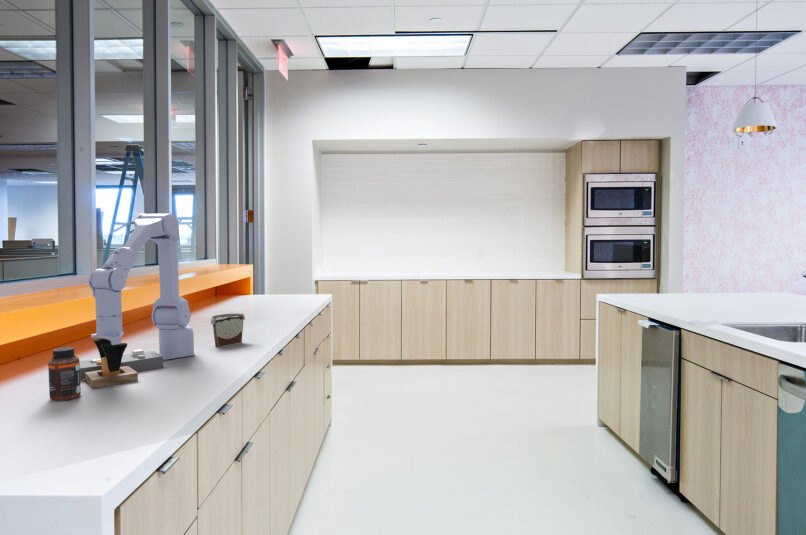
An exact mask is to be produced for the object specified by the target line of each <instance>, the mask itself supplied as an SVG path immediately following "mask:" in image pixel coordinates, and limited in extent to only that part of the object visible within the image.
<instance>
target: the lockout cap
mask: <svg viewBox="0 0 806 535" xmlns="http://www.w3.org/2000/svg"><path fill="white" fill-rule="evenodd" d="M101 360H102V377H103V376H109V375H115V374H120V370H119V371H115V372H110V371H109V369H108V365H107V360H106V356H105V357H102V358H101Z"/></svg>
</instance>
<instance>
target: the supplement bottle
mask: <svg viewBox="0 0 806 535" xmlns="http://www.w3.org/2000/svg"><path fill="white" fill-rule="evenodd" d="M52 356H53V357H51V359H50V360H48V362H47V367H48V368H47V369H48V370H47V371H48V388H49V392H48V393H49V399H50V400H51V401H54V402H64V401H69V400H72V399H76V398H78V397H80V396H81V394H82V390H81V389H82V388H81V380H80V362H79V361H80V357H78V356H76V355H75V348H74V347H72V346H71V347H70V346H69V347H68V346H67V347H59V348H55V349H53V350H52Z"/></svg>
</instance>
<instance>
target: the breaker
mask: <svg viewBox="0 0 806 535" xmlns="http://www.w3.org/2000/svg"><path fill="white" fill-rule="evenodd" d="M131 352H132V353H131V354H132V357H133V358H134V357H138V356H139V355H144V352H145V351H144V349H142V348H140V349H133V350H132V351H131Z"/></svg>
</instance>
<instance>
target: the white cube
mask: <svg viewBox="0 0 806 535" xmlns="http://www.w3.org/2000/svg"><path fill="white" fill-rule="evenodd" d="M91 360H92V363H96V362H97V361H101V358H92V359H91Z"/></svg>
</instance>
